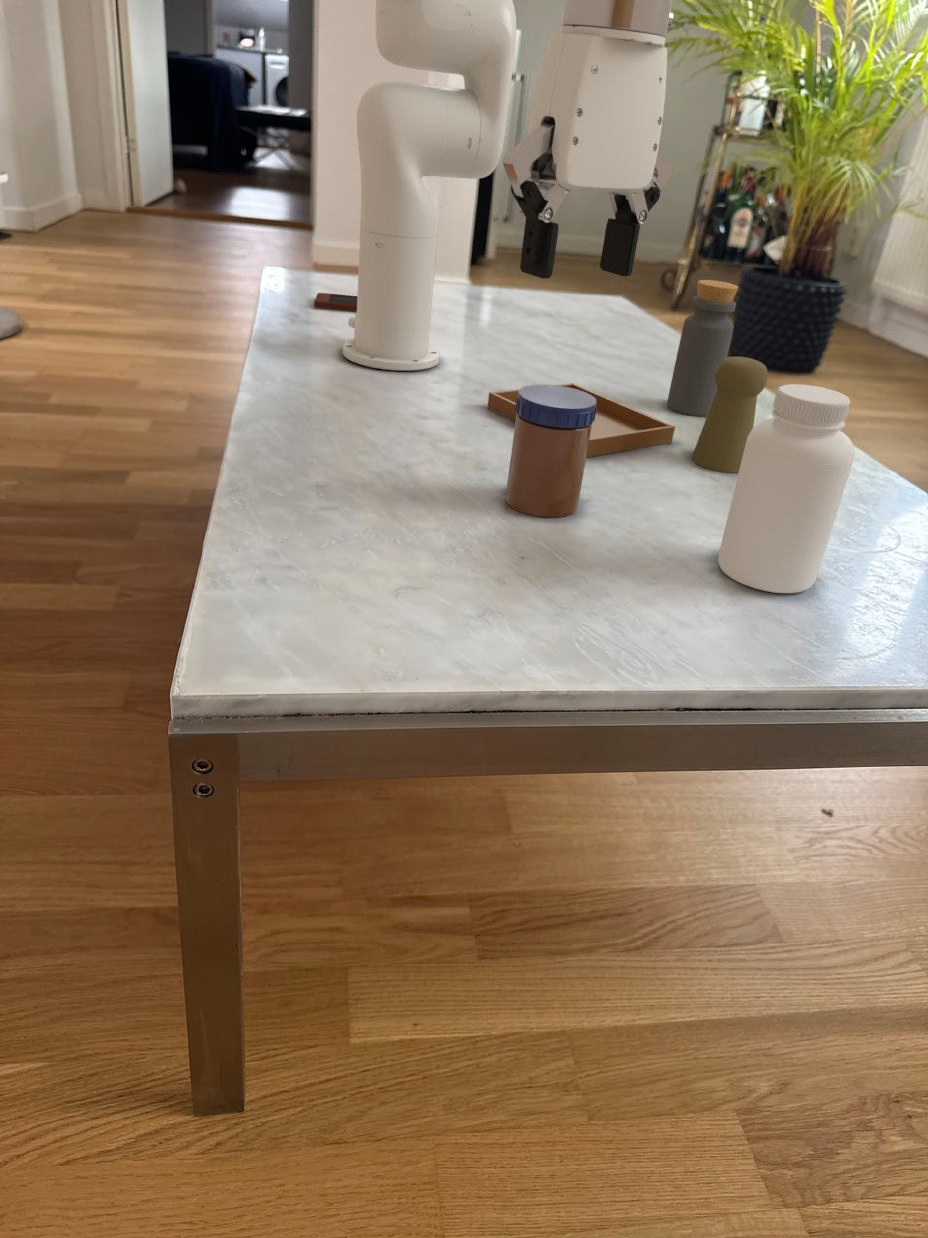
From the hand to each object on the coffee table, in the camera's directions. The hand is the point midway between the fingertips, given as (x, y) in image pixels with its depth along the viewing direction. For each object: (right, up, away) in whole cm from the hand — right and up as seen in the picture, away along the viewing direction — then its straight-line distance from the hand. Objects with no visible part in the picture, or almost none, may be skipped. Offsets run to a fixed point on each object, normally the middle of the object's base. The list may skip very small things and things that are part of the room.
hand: (576, 272), depth 76 cm
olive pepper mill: (+18, -11, +25) cm, 33 cm away
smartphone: (-25, +21, +73) cm, 80 cm away
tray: (+4, -6, +31) cm, 32 cm away
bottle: (+19, -2, +42) cm, 46 cm away
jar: (-2, -17, +10) cm, 20 cm away
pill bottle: (+16, -24, +2) cm, 29 cm away
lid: (-1, -9, +5) cm, 10 cm away
